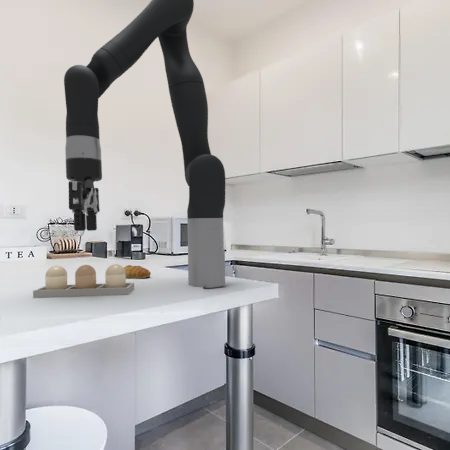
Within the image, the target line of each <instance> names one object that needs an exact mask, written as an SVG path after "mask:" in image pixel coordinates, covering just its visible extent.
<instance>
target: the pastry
mask: <svg viewBox="0 0 450 450" xmlns="http://www.w3.org/2000/svg"><path fill="white" fill-rule="evenodd" d="M123 268H124V269H125V272H126V279H133V280H137V279H138V280H139V279H140V280H141V279H145V278H150V277H151V274H152V273H151V271H150V270H149V269H148V268H145V267H143V266H140V265H130V264H128V265H126V266H123Z"/></svg>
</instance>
